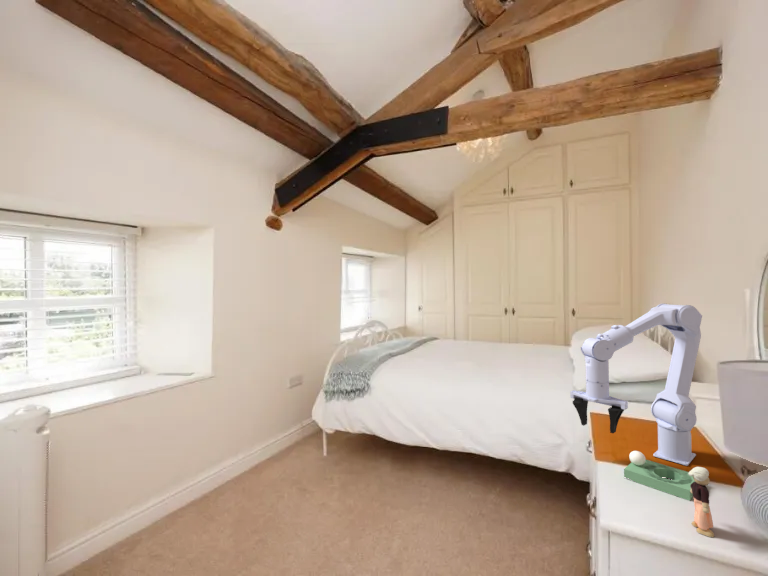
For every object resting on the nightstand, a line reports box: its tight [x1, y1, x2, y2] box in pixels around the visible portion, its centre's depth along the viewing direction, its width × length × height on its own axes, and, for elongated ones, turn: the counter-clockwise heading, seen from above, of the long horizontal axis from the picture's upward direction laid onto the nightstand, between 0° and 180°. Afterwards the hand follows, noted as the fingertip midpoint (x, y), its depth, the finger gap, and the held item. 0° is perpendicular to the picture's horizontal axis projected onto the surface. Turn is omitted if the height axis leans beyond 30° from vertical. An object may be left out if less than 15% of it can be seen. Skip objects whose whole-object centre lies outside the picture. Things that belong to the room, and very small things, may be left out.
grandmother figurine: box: [688, 466, 715, 538], centre depth 77 cm, size 8×4×13 cm, turn 168°
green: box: [623, 459, 695, 502], centre depth 95 cm, size 10×14×2 cm
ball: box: [628, 450, 647, 466], centre depth 99 cm, size 4×4×4 cm
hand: (598, 428), depth 106 cm, fingers open, 7 cm apart
